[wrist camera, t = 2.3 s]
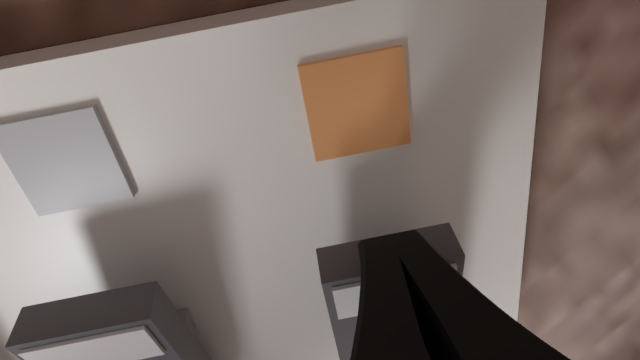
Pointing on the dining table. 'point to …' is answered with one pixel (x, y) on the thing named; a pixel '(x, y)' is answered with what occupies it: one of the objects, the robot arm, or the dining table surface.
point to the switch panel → (266, 158)
